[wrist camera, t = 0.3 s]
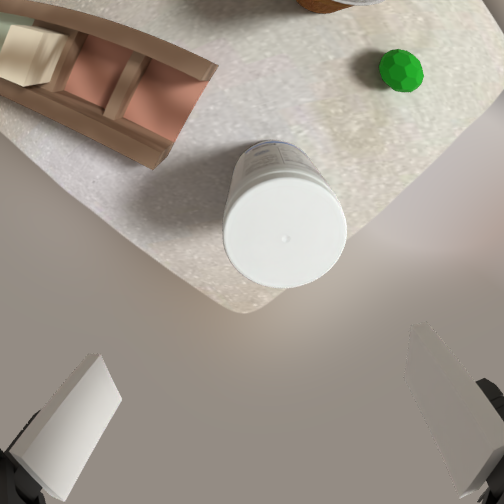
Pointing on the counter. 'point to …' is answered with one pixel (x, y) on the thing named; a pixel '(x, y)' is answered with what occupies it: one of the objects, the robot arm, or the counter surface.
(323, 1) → the disposable coffee cup
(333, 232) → the supplement tub
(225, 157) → the counter surface
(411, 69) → the polyhedron
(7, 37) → the birch block
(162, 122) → the box
